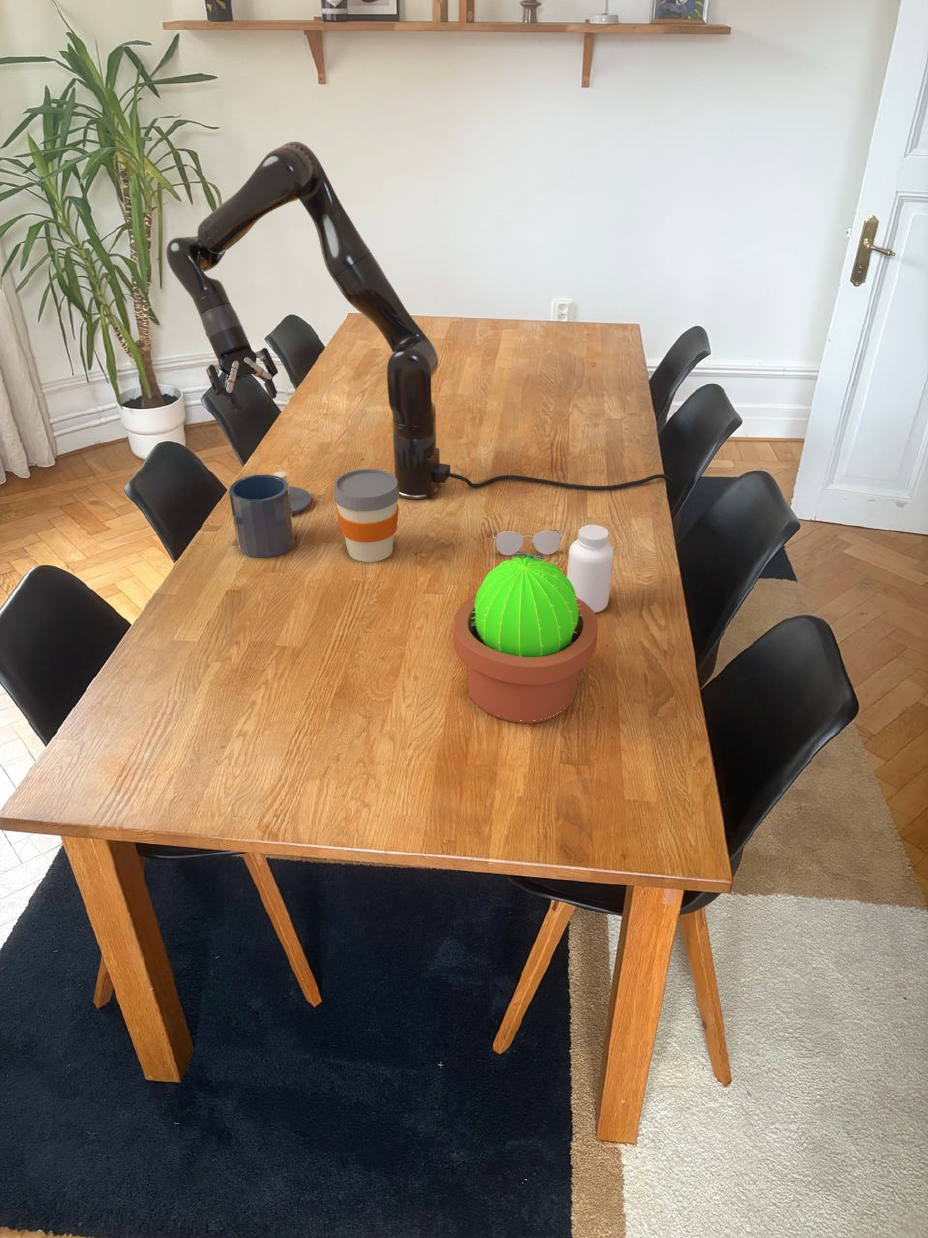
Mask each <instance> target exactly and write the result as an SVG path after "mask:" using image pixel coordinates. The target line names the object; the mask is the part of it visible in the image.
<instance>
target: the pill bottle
mask: <svg viewBox="0 0 928 1238" xmlns="http://www.w3.org/2000/svg"><path fill="white" fill-rule="evenodd" d="M609 538H610V533H609V530H608V529H607V528H606V527H604V526H602V525H598V524H586V525H583V526H582V527H580V528H579V530H578V536H577V539H576V540H574V541H573V542H572V543H571V545H570V547H569V550H568V558H567V559H568V561H567V573H566V577H567V578H568V579H569V581H570V580H571V581H570V582H571V584H572V585H573V588H574V590H575V589H576V590H575V594H576V597H577V598H579V599H581V600H582V601H583V602H585V603H586V604H587V605H588V606H589V607H590V608H591V609H592V610H593V611H594V613H595V614H596V613H599V612H602V611H603V610H605V609H606V608H607V606H608V604H609V600H610V592H611V584H612V574H613V566H614V557H615V556H614V555H615V552H614V548H613V546H612V545H611V544H610V543H609ZM572 579H573V580H572ZM574 580H575V581H574ZM572 582H573V583H572Z"/></svg>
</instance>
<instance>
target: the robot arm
mask: <svg viewBox="0 0 928 1238" xmlns="http://www.w3.org/2000/svg"><path fill="white" fill-rule="evenodd" d="M298 200H299V202H300V203H301V204H302V206H303V208H304V209H305V211H306V212H307V214H308V216H309V217H310V218H311V221H312V222H313V225H314V227H315V229H316V233H317V236H318V237H317V238H318V241H319V246H320V251H321V255H322V258H323V262H324V265H325V268H326V270H327V272H328V274H329V276H330V277H331V278H332V280H333V282H334V283H335V286H337V288H338V290H339V291H340V293H341V294H342V295H343V297H344V298H345V299H346V300H347V302H348V303H349V304H350V305H351V306H352V307H353V308H354V309H356V310H357V311H358V312H359V313H361V314H362V315H363V316H364V317H365V318H367V319H368V320H369V321H370V322H371V323H372V324H373V325H374V326H375V327H376V328H377V329H378V331H380V333H381V334H382V336H383V337H384V339H385V341H386V342H387V345H388V347H389V348H390V350H391V352H392V353H391V355H390V356H389V358H388V361H387V365H386V383H387V397H388V398H387V399H388V405H389V408H390V410H391V419H392V441H393V467H394V476H395V477H396V479H397V482H398V488H399V497H401V498H404V499H407V500H424V499H430V500H431V499H433V497H434V496H435V495H436V493H437V492H438V490H439V489H440V488H441V484H445V483H446V482H447V481H448V479H449V478H451V479H456V480H460V481H461V482H464V483H466V484H467V485H468V486H469V487H470V488H475V489H478V488H482V487H484V486H487V485H490V484H492V483H494V482H497V481H501V480H518V481H519V480H521V481H527V482H533V483H539V484H545V485H552V486H555V487H564V488H568V489H569V488H570V489H578V490H579V489H580V490H588V491H589V490H592V491H605V490H606V491H607V490H608V491H609V490H617V489H623V488H627V487H630V486H631V487H632V486H636V485H642V484H644V483H648V482H650V481H653V480H656V479H664V480H666V481H667V482H672V481H673V479H672V478H671V477H670V476H669V475H668V474H664V473H658V474H653V475H650V476H648V477H645V478H642V479H638V480H633V481H628V482H624V483H623V482H622V483H618V484H611V485H585V484H575V483H568V482H561V481H555V480H551V479H545V478H544V479H543V478H537V477H529V476H523V475H517V474H516V475H515V474H505V475H498V476H494V477H492V478H489V479H488V480H485V481H483V482H480V483H479V482H478V483H473V482H472V481H471V480H470V479H469V478H467V477H466V476H463V475H460V474H456V473H452V472H451V465H450V464H447V463H440V461H441V460H440V459H441V458H440V448H439V447H437V408H436V405H435V403H434V401H433V400H432V399H433V398H432V397H433V396H432V378H433V377H434V375H435V374H436V372H437V370H438V368H439V355H438V351H437V349H436V347H435V346H434V344H433V343H432V342H431V340H430V338H428V336H427V335H426V333H424V331H423V330H422V328H420V326H419V325H418V324H417V322H416V321H415V319H414V318H413V317H412V316H411V314H410V313H409V312H408V310H407V308H406V306H404V304H403V302H402V300H401V299H400V297H399V295H398V293H397V292H396V291H395V289H394V287H393V285H392V284H391V282H390V281H389V279H388V278H387V276H386V274H385V272H384V271H383V269H382V267H381V265H380V263H378V260H377V259H376V258H375V256H374V254H373V253H372V251H371V249H370V248H369V247H368V245H367V244H366V242H365V240H364V239H363V238H362V236H361V234H360V233H359V231H358V230H357V228H356V226H355V224H354V223H353V221H352V220H351V218H350V216H349V215H348V213H347V211H346V209H345V208H344V207H343V204H342V203H341V201H340V199H339V197H338V195H337V194H336V191H335V190H334V187H333V186H332V183H331V181H330V180H329V177H328V176H327V173H326V171H325V169H324V167H323V166H322V164H321V161H320V160H319V158H318V157H317V155H316V154H315V153H314V151H312V149H311V148H309V146H307V145H306V144H304V143H302V142H300V141H289V142H287V143H284V144H283V145H281V146H279V147H277V148H275V149H274V150H271V151H269V152H268V153H267V154H266V155H265V156H264V158H263V159H262V160H261V161H260V163H259V164H258V166H257V167H256V169H255V170H254V171H253V172H252V174H251V175H250V176H249V178H248V179H247V180H246V181H245V183H244V184H243V185H242V186H241V187H240V189H238V190H237V191H236V192H235V193H234V194H233V195H232V196H231V197H229V198H228V199H227V200H225V201H224V202H223V203H222V204H220V205H219V206H218V207H217V208H215V209H214V210H213V211H212V212H211V213H210V214H209V215H208V216H207V217H205V218H204V219H203V220H202V221H201V222H200V223H199V224H198V227H197V231H196V232H197V235H195V236H181V237H174V238H172V239H171V240H170V241H169V242H168V244H167V246H166V250H165V256H166V260H167V264H168V266H169V268H170V270H171V271H172V273H173V275H174V276H175V277H176V279H177V280H178V282H179V283H180V284H181V285H182V287H183V288H184V290H185V291H186V292H187V293H188V295H189V296H190V297H191V299H192V301H193V303H194V306H195V309H196V310H197V313H198V315H199V317H200V320H201V323H202V327H203V329H204V332H205V336H206V337H207V338H208V341H209V343H210V345H211V348H212V350H213V353H214V355H215V358H217V362H218V364H209V365H208V366H207V368H206V373H207V376H208V379H209V382H210V384H211V387H212V390H213V393H214V394H215V395H216V396H219V395H221V396H225V398H226V400H227V403H228V405H229V407H230V408H231V410H234V412H239V411H241V410H242V408H241V405H240V403H239V400H238V398H237V395H236V393H235V392H234V391H233V389H234V385H235V382H236V381H239V380H241V379H242V378H248V377H250V376H251V375H252V376H254V377H256V378H258V379H260V380H261V381H263V382H264V383H263V385H264V387H265V390H266V392H267V395H268V397H269V399H270V400H274V399H275V398H277V394H278V390H277V388H276V385H275V383H274V381H273V378H274V377H275V376H276V375H278V373H279V369H278V368H277V366H276V364H275V362H274V360H273V357H272V356H271V354H270V352H269V350H268V348H267V347H263V348H262V349H260V350H258V351H254V350H253V349H252V347H251V344H250V342H249V339H248V337H247V335H246V332H245V330H244V327H243V325H242V323H241V321H240V318H239V316H238V313H237V312H236V310H235V309H234V307H233V305H232V303H231V300H230V299H229V296H228V293H227V291H226V288H225V287H224V286H225V285H223V283H222V282H221V281H220V280H219V279H216V278H212V277H209V276H208V275H206V272H209V271H211V270H212V269H214V268H215V267H216V266H218V265H219V263H220V262H221V260H222V258H223V257H224V256H225V254H226V252H227V250H229V249H230V248H231V247H233V246H234V245H235V244H237V243H238V242H239V241H240V240H241V239H243V238H244V237H245V236H246V235H247V234H248V233H249V231H251V229H253V227H254V226H255V224H257V222H258V221H259V220H261V219H262V218H263V217H264V216H266V215H267V214H269V213H271V212H272V211H274V210H277V209H278V208H281V207H283V206H286V205H287V204H290V203H292V202H296V201H298ZM257 359H258V360H259V361H261V362H262V363H263V365H264V368H265V369H266V370H265V369H264V368H263V367H262V366H260V365H259V364H257ZM220 371H221V372H223V374H225V375H226V378H225V381H224V386H223V384H222V382H221V380H220V376H219V375H220Z"/></svg>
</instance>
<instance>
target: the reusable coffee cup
mask: <svg viewBox="0 0 928 1238" xmlns="http://www.w3.org/2000/svg"><path fill="white" fill-rule="evenodd" d="M333 489H334V491H333V499H334V502H335V503H336V506H337V507H336V516H337V520H338V523H339V528H340V532H341V534H342V535H343V537H344V540H345V541H344V542H345V545H346V549H347V553H348V556H349V557H351V558H352V559H353V560H355V561H359V562H363V563H372V562H373V563H374V562H379V561H382V560H385V559H386V558H388V557H390V556H391V554H392V553H393V549H394V539H395V533H396V532H397V528H398V518H399V507H400V506H399V505H398V500H399V498H400V496H399V488H398V482H397V479H396V477H395V474H392V473H391V472H388V471H387V470H382V469H377V468H360V469H354V470H351V471H350V470H349V471H347V472H345V473H342V474H341V475H340V476H338V477H337V478H336V479H335V481H334V488H333Z"/></svg>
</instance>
